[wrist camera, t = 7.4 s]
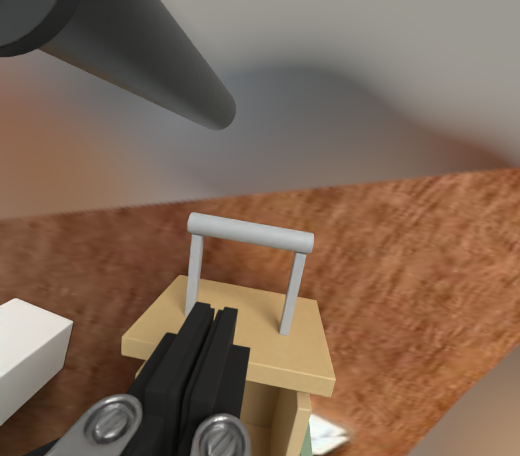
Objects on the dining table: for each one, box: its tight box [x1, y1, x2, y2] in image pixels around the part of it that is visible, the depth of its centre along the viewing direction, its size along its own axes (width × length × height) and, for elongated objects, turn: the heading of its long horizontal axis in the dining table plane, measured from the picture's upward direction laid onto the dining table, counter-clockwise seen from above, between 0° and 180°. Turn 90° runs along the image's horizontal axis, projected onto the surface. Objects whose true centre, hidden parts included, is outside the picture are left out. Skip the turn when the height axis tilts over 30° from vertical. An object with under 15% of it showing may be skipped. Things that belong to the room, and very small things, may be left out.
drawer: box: [121, 212, 336, 456], centre depth 18 cm, size 20×11×8 cm, turn 171°
